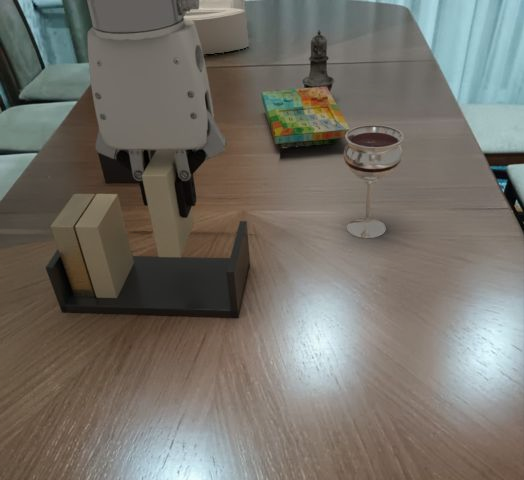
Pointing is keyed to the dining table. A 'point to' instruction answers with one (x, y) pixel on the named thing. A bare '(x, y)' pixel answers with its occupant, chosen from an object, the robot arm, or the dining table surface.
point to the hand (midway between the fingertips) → (171, 209)
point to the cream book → (165, 205)
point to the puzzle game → (304, 117)
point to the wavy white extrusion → (220, 25)
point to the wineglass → (371, 167)
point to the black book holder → (137, 268)
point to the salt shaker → (318, 64)
